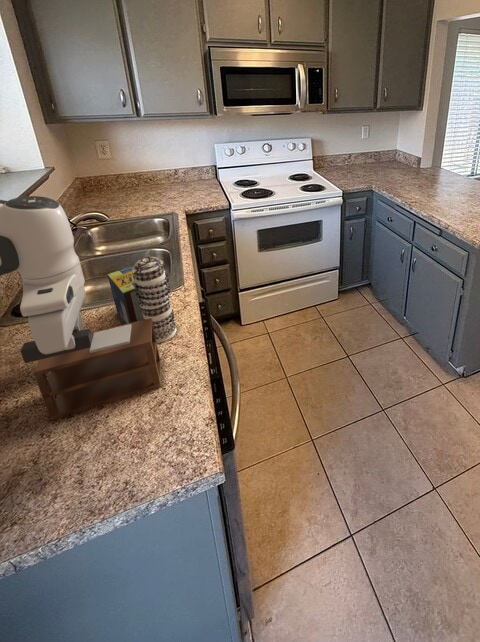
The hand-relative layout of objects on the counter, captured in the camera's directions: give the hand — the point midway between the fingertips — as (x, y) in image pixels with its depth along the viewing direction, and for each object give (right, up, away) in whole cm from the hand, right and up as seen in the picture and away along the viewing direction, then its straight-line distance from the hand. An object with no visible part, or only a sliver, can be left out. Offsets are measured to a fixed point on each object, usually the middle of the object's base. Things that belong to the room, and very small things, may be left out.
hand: (72, 341), depth 71 cm
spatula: (0, -2, +1) cm, 2 cm away
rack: (-3, -18, +18) cm, 26 cm away
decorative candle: (+1, -12, +37) cm, 39 cm away
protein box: (-9, -9, +45) cm, 47 cm away
